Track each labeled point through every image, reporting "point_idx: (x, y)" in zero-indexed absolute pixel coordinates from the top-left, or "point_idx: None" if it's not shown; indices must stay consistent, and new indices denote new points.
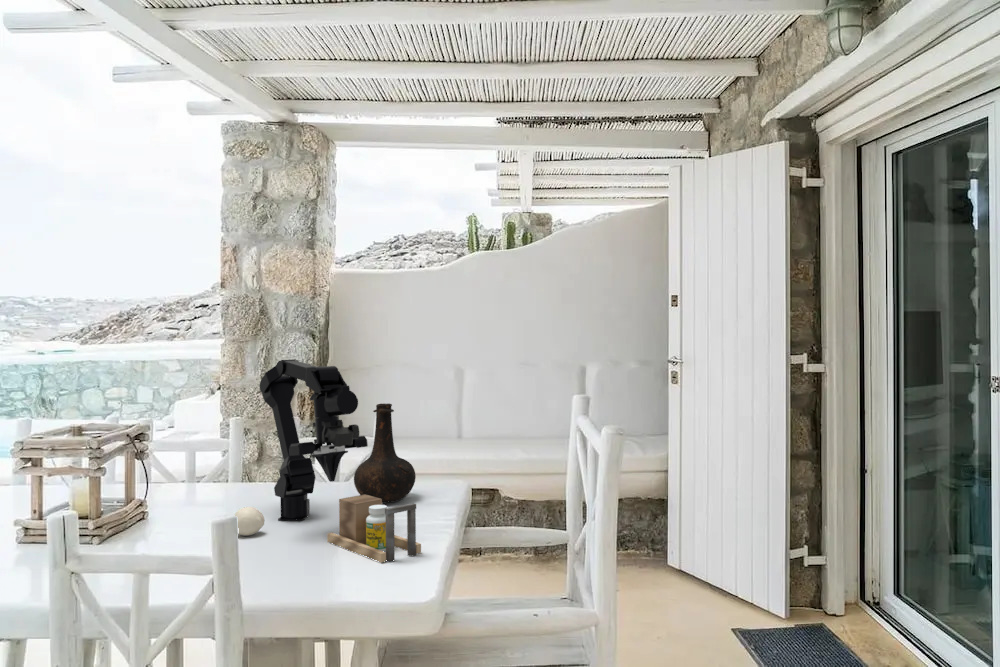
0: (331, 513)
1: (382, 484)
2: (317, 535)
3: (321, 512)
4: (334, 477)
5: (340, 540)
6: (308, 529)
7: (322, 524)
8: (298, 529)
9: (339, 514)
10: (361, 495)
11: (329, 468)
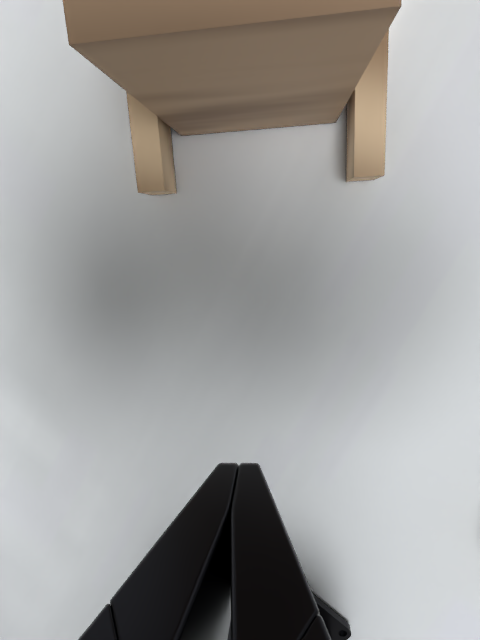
0: None
1: None
2: (343, 325)
3: None
4: (214, 485)
5: None
6: (321, 440)
7: None
8: (354, 469)
9: (364, 68)
10: (123, 12)
11: (293, 609)
